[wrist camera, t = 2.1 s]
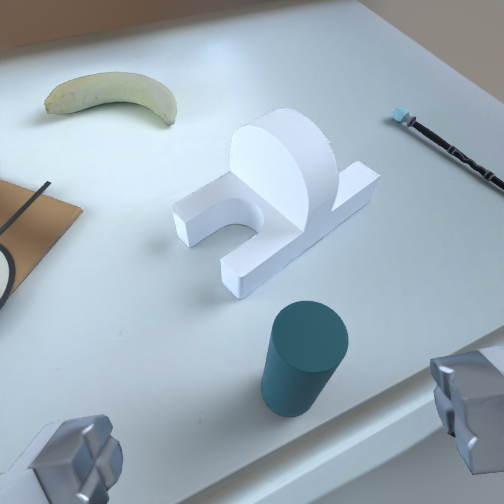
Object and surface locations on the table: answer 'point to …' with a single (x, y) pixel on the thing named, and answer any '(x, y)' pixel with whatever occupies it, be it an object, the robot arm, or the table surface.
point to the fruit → (112, 94)
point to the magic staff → (444, 144)
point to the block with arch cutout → (274, 197)
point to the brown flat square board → (28, 231)
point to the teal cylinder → (302, 356)
